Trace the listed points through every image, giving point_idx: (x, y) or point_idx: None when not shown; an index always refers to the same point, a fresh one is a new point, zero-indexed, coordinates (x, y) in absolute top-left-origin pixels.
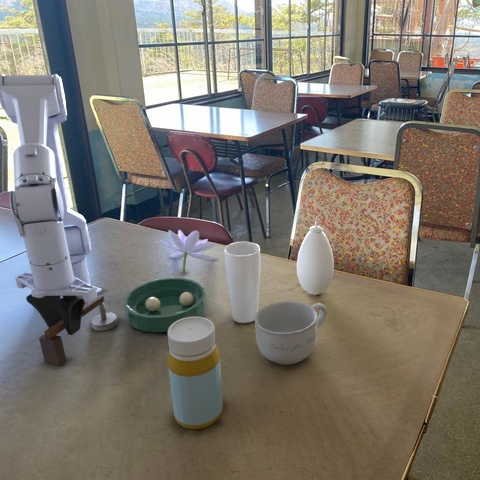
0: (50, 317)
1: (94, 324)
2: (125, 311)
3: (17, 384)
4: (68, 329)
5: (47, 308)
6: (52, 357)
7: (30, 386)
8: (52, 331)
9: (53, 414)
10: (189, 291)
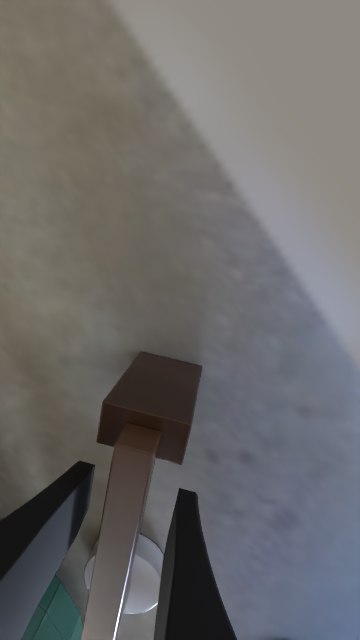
0: (171, 560)
1: (135, 554)
2: (34, 613)
3: (225, 243)
4: (61, 479)
5: (162, 633)
6: (154, 367)
7: (172, 239)
8: (114, 455)
9: (6, 115)
10: None
